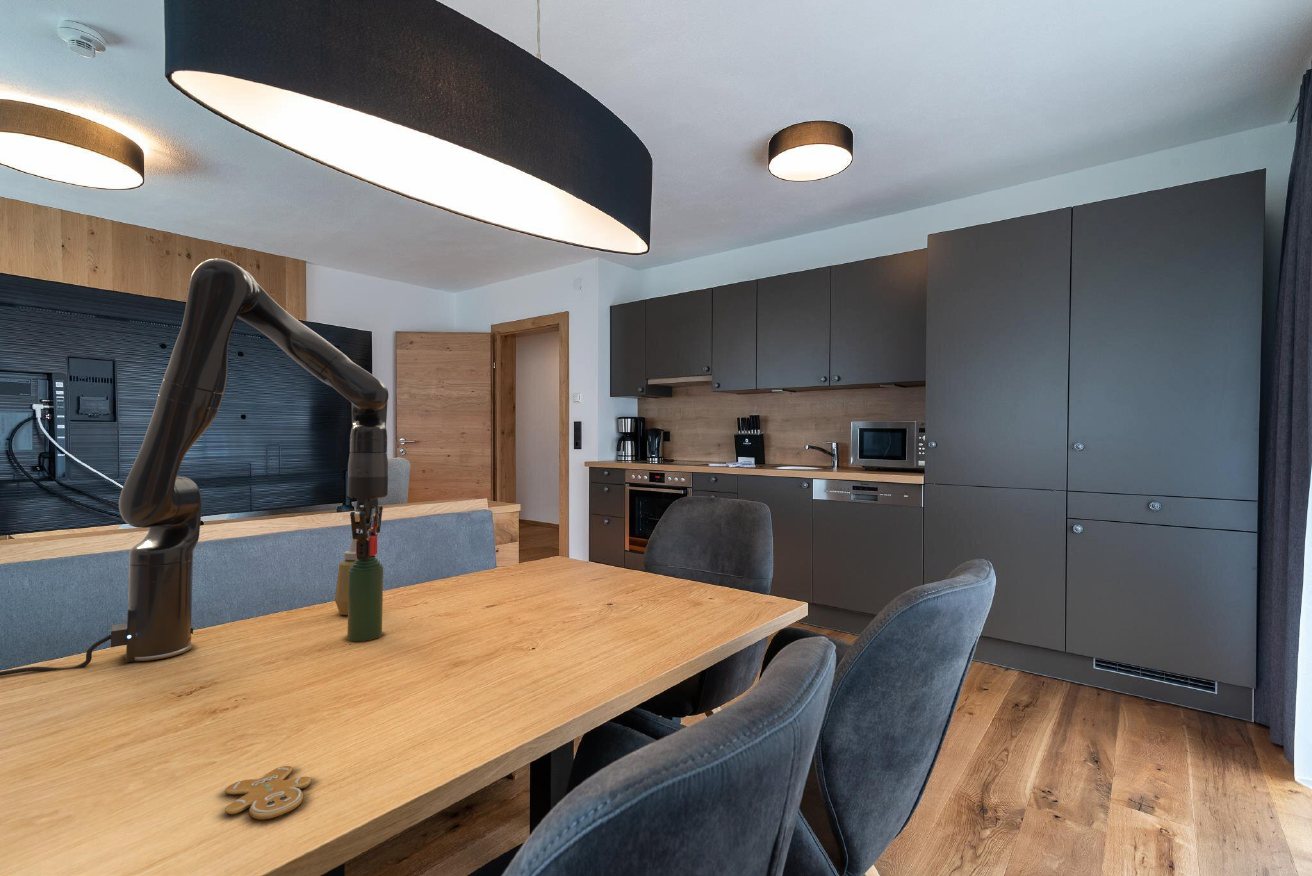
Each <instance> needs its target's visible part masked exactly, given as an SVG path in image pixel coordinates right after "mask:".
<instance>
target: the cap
mask: <svg viewBox="0 0 1312 876" xmlns="http://www.w3.org/2000/svg"><path fill="white" fill-rule="evenodd" d="M369 541H370V549H369V556H373V555H375V556H376V555H377V554H378V535H377V536H370V540H369ZM356 556H357V541H356Z"/></svg>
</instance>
